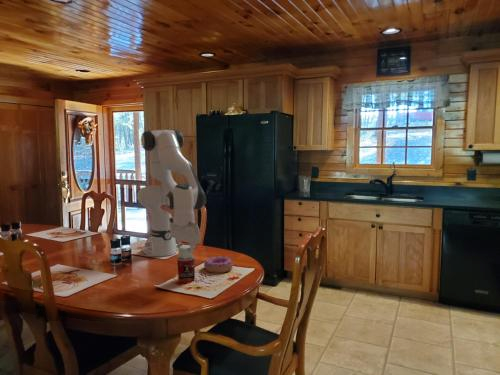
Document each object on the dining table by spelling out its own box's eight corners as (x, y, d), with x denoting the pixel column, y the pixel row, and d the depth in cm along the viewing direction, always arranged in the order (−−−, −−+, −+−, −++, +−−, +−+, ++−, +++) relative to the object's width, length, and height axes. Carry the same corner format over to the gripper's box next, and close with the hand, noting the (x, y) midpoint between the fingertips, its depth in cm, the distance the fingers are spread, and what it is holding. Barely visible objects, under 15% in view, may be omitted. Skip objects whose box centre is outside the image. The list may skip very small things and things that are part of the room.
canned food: (178, 284, 167) (178, 260, 166) (177, 278, 175) (176, 255, 174) (196, 282, 169) (195, 258, 168) (193, 276, 177) (193, 253, 176)
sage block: (178, 256, 171) (178, 247, 171) (187, 254, 174) (186, 245, 174) (184, 259, 168) (184, 249, 167) (192, 256, 171) (192, 246, 170)
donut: (219, 276, 177) (219, 266, 176) (198, 270, 186) (198, 260, 185) (238, 268, 188) (238, 258, 188) (217, 262, 197) (217, 253, 196)
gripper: (203, 222, 163) (204, 253, 165) (178, 216, 178) (179, 244, 180) (191, 224, 159) (192, 256, 161) (166, 218, 174) (168, 247, 176)
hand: (185, 250), depth 171 cm, fingers open, 8 cm apart
